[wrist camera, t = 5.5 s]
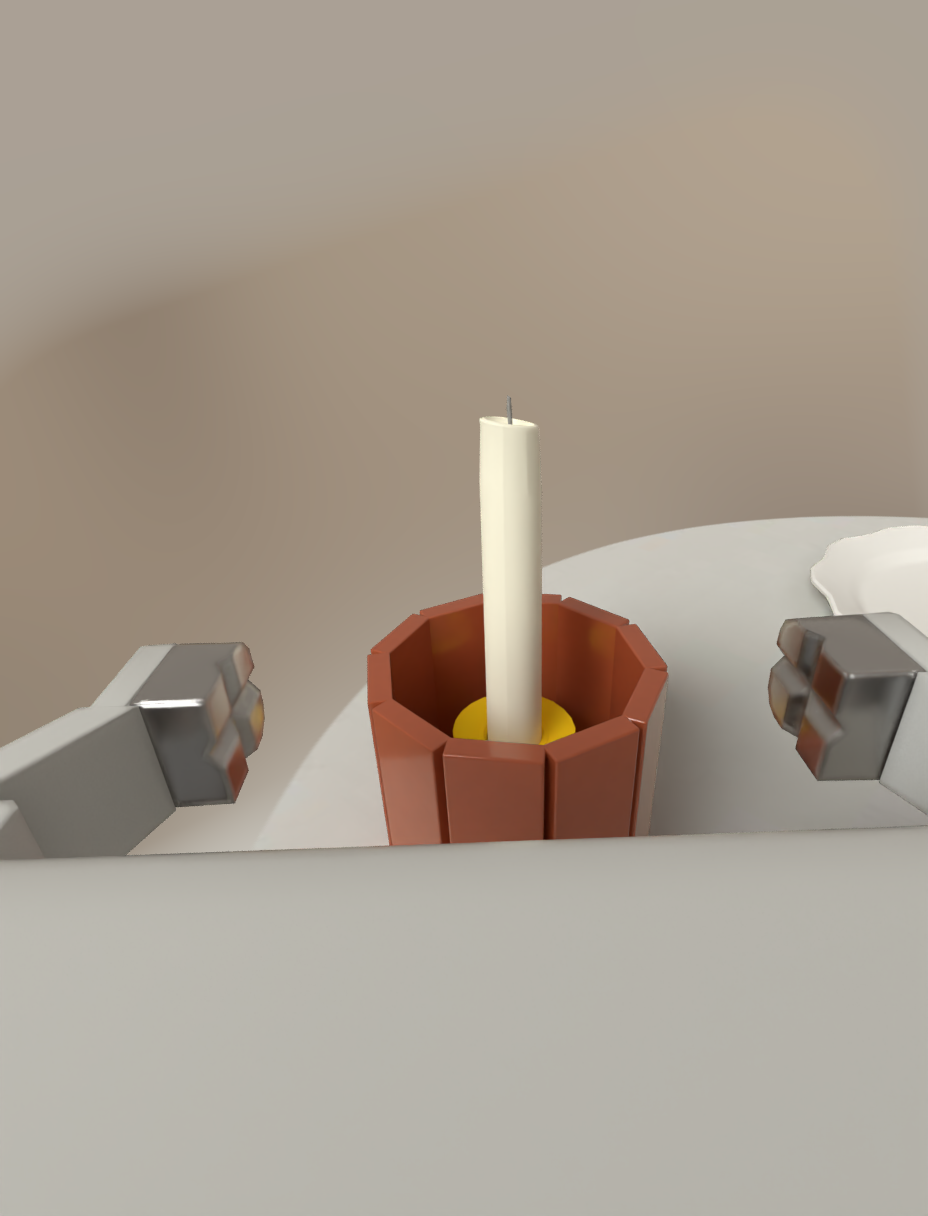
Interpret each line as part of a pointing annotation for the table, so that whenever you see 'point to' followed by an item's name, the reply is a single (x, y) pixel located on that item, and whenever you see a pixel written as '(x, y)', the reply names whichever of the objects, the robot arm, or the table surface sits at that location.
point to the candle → (512, 591)
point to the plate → (878, 574)
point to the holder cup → (505, 771)
